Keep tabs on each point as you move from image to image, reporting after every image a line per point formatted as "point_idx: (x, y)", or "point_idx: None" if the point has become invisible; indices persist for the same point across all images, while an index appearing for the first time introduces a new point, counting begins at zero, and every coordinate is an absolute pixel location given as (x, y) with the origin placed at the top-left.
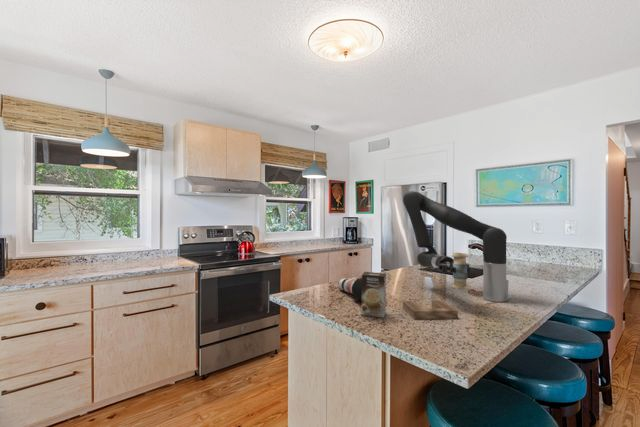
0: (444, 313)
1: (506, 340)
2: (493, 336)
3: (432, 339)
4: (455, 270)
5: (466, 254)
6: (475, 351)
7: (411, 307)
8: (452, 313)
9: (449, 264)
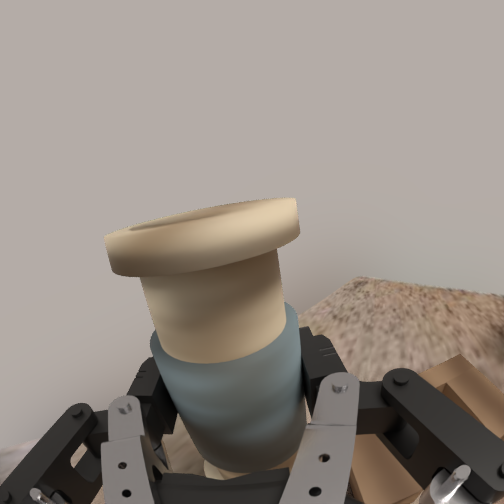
0: None
1: None
2: None
3: (398, 314)
4: None
5: (164, 217)
6: (336, 306)
7: (478, 375)
8: None
9: (314, 424)
